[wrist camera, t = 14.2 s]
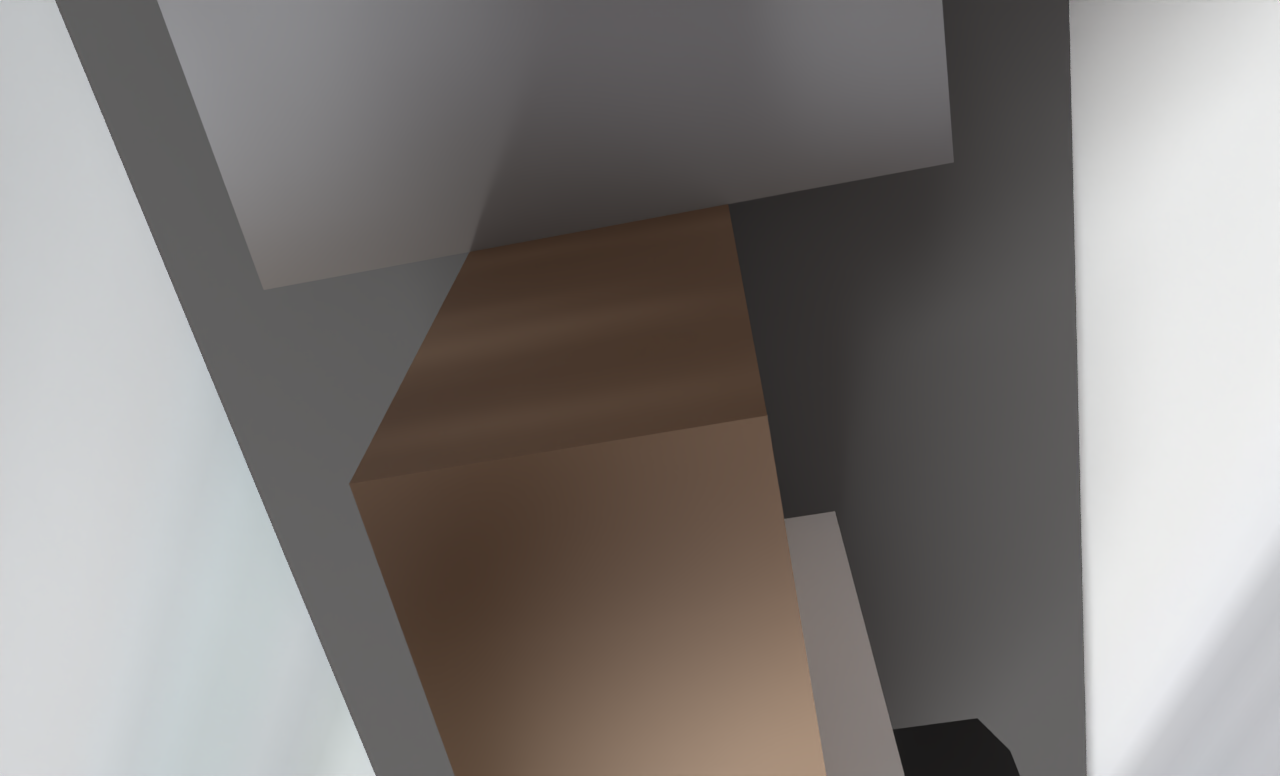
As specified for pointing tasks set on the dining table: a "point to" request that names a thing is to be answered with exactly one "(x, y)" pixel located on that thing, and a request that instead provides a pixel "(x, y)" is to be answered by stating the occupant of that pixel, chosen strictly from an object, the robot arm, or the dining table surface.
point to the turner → (571, 333)
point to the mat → (788, 366)
